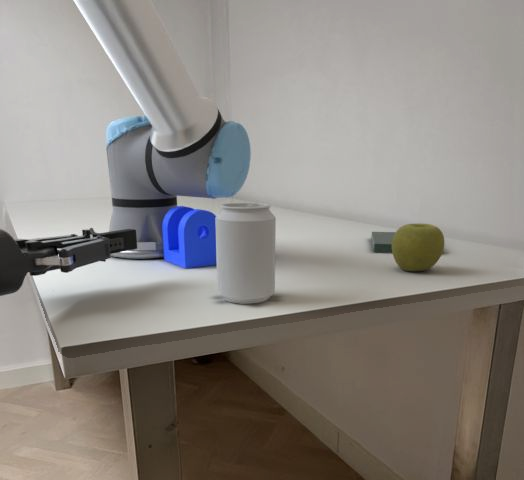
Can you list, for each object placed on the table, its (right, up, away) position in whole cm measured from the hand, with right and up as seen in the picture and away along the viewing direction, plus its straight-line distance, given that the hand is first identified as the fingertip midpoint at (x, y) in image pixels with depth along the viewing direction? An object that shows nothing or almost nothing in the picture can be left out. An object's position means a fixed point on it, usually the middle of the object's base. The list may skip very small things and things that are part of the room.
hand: (132, 238), depth 79 cm
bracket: (+11, 0, +19) cm, 22 cm away
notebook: (+47, +5, +31) cm, 56 cm away
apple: (+43, -3, +10) cm, 44 cm away
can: (+16, -9, -7) cm, 20 cm away
